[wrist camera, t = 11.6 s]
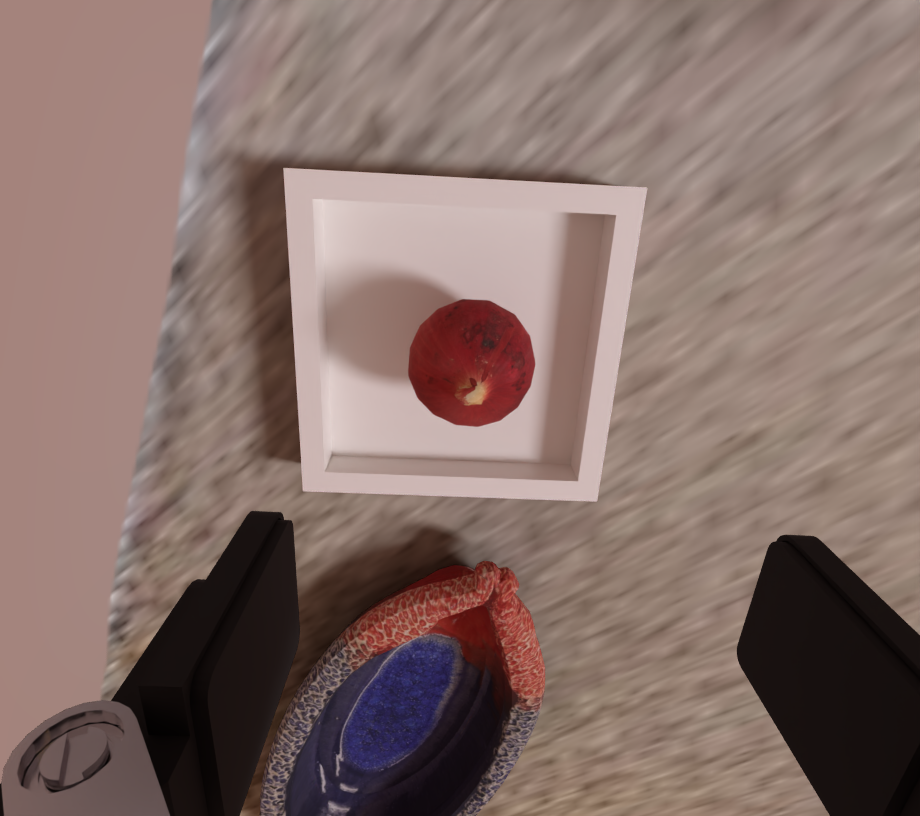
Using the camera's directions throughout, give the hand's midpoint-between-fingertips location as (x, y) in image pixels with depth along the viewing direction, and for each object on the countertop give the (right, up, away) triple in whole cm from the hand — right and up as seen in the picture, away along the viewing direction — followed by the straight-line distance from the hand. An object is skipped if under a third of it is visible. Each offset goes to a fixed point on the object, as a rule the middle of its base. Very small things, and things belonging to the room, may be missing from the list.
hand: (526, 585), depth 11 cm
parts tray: (-1, +7, +19) cm, 20 cm away
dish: (-5, -17, +29) cm, 34 cm away
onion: (-1, +7, +18) cm, 20 cm away
